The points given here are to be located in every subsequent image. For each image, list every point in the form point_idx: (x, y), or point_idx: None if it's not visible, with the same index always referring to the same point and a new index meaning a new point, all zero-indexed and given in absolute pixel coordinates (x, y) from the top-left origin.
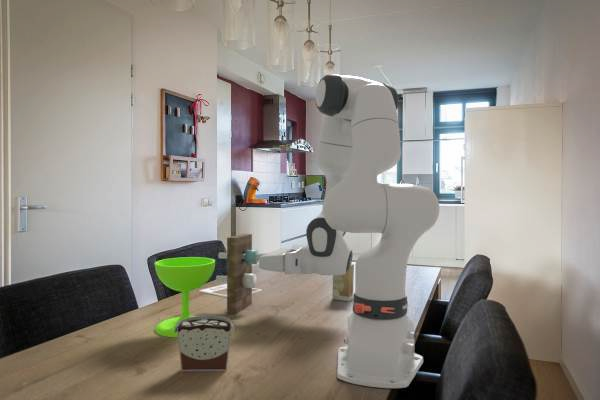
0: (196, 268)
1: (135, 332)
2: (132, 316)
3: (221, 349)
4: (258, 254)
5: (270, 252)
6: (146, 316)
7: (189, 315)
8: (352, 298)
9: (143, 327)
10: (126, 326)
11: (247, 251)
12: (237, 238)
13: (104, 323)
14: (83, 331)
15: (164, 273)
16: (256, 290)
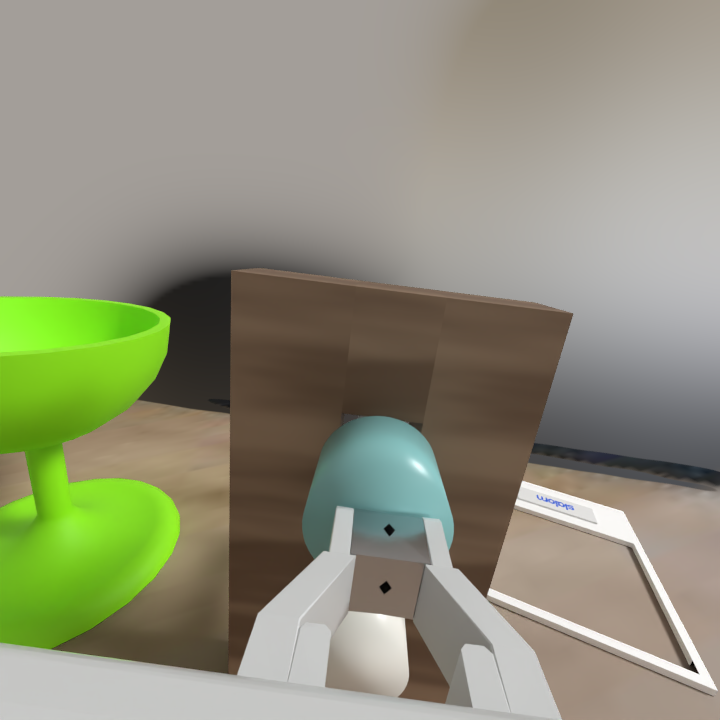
0: None
1: (77, 460)
2: (229, 428)
3: None
4: (358, 527)
5: (320, 712)
6: (226, 444)
7: (41, 526)
8: None
9: (121, 461)
10: (145, 437)
11: (349, 428)
12: (258, 281)
13: (182, 410)
14: (133, 403)
15: None
16: (684, 654)
